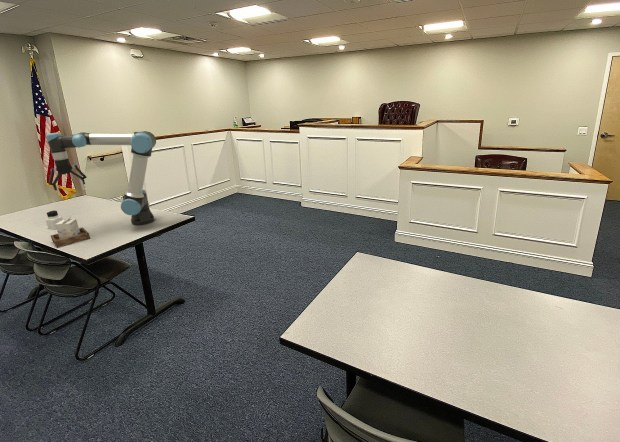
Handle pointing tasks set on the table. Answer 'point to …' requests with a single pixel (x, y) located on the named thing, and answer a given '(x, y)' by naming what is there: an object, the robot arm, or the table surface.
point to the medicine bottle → (53, 219)
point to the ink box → (67, 228)
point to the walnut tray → (70, 238)
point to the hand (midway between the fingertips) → (72, 192)
